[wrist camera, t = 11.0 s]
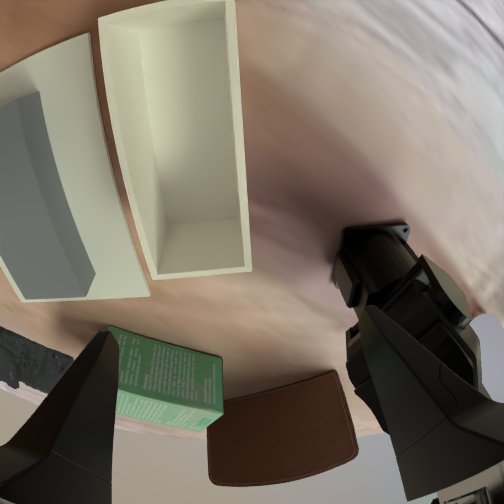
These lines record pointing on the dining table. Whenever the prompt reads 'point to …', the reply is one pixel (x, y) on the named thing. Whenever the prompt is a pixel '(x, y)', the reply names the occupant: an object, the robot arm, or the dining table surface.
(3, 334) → the dark slate chunk
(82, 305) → the dining table surface
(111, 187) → the pale cream mat
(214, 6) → the base
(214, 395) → the box
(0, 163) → the grey rectangular block
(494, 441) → the robot arm
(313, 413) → the letter holder
